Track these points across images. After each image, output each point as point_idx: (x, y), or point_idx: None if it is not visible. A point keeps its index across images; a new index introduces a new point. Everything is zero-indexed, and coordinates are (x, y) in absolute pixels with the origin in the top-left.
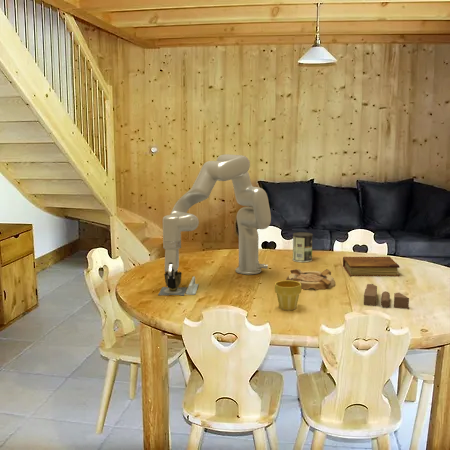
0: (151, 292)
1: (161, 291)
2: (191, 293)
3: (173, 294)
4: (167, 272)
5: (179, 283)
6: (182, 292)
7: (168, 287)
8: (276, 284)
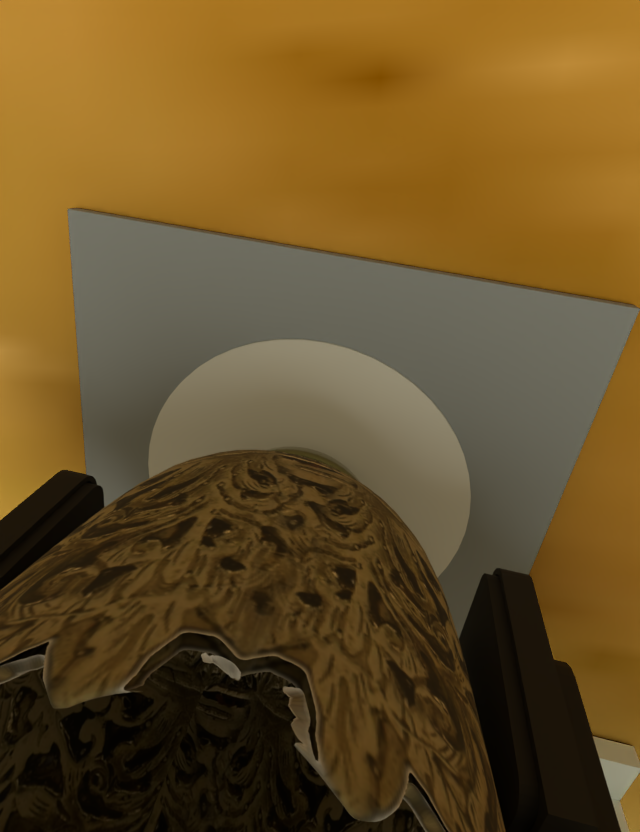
0: (288, 19)
1: (284, 282)
2: None
3: (103, 483)
4: (426, 808)
5: (189, 708)
6: None
7: (69, 474)
8: None
